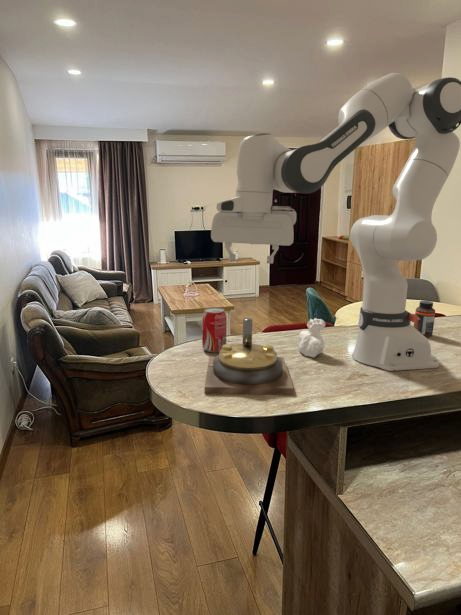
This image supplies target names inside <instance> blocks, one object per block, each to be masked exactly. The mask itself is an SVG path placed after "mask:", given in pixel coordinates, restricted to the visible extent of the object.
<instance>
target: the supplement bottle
mask: <svg viewBox="0 0 461 615" xmlns="http://www.w3.org/2000/svg"><path fill="white" fill-rule="evenodd" d="M433 307H434V302H433V301H429V300H420V301H419V306H417V307H416V308H415V313H414V314H415V315H417V317H419V318H418V319H417V320H418V321H417V322H415V323H414V322H413V327H414V328H415V329H417V330H418V331H419V332H420V333H421V334H422V335H424V336H425V337H426V338H431V337H432V336H433V334H434V325H435V316H436V310H435V308H433Z"/></svg>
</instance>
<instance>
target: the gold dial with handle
mask: <svg viewBox="0 0 461 615" xmlns="http://www.w3.org/2000/svg"><path fill="white" fill-rule="evenodd" d="M218 355H219V362H220V363H221V364H222V365H223V366H225V367H227V368H229V369H233V370H238V371H261V370H266V369H269V368H272V367H273V366H275V365H276V362H277V357H278V353H277V351H276V350H274V346H273V345H270V344H268V345H267V344H266V345H261V344H255V343H254V344H253V318H251V317H244V318H242V343H238V344H237V343H236V344H231V345H229V344H226V345H223V346H222V349H221V350H220V352H218Z"/></svg>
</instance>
